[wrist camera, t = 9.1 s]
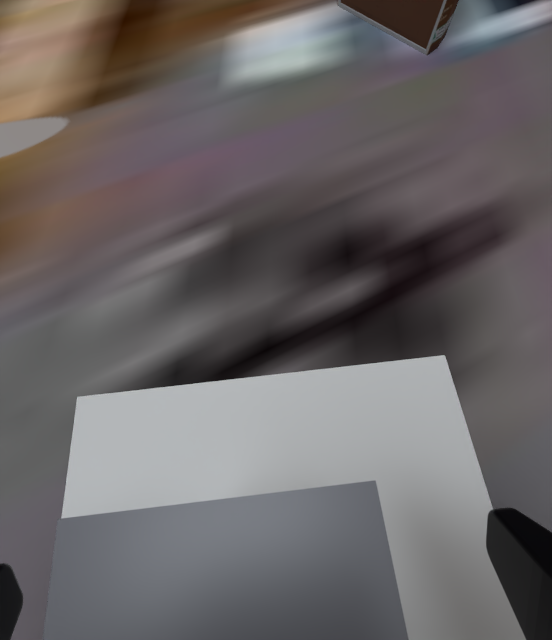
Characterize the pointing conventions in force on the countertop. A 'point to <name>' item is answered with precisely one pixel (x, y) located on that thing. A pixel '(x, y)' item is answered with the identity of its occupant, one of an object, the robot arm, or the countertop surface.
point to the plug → (229, 570)
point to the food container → (407, 19)
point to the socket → (314, 469)
